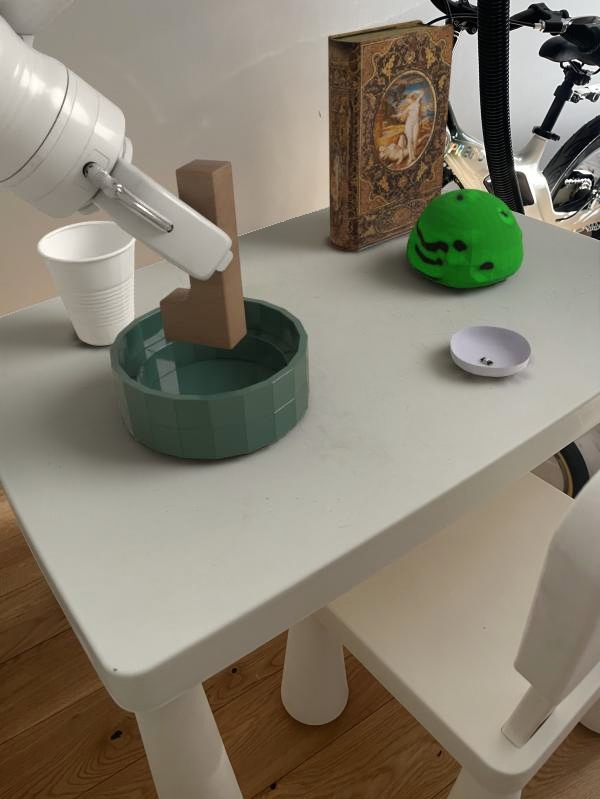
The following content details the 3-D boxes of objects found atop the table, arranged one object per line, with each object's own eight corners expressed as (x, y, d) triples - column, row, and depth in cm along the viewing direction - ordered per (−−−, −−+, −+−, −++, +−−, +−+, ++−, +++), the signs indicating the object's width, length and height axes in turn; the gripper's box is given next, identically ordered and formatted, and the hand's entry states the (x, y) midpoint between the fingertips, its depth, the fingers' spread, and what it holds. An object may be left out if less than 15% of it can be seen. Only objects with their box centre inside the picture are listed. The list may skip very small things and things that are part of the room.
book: (350, 254, 95) (352, 43, 81) (323, 241, 99) (320, 37, 84) (438, 221, 103) (455, 23, 88) (411, 210, 107) (422, 18, 92)
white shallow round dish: (489, 394, 70) (492, 378, 68) (431, 358, 75) (432, 342, 74) (546, 366, 73) (549, 349, 72) (486, 333, 78) (488, 317, 77)
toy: (386, 262, 93) (390, 185, 87) (468, 238, 98) (476, 164, 92) (455, 306, 83) (464, 222, 78) (542, 277, 89) (556, 196, 83)
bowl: (97, 391, 72) (82, 329, 68) (252, 338, 79) (247, 279, 75) (170, 493, 60) (157, 426, 56) (345, 419, 67) (345, 355, 63)
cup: (109, 302, 87) (90, 213, 80) (170, 325, 82) (156, 232, 75) (41, 339, 80) (15, 246, 74) (103, 367, 75) (81, 269, 69)
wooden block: (247, 333, 65) (232, 160, 57) (231, 350, 62) (212, 171, 54) (182, 324, 67) (158, 156, 59) (164, 340, 64) (136, 166, 56)
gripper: (149, 148, 42) (298, 262, 52) (46, 79, 56) (178, 179, 66) (89, 240, 43) (247, 335, 53) (1, 149, 57) (139, 237, 67)
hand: (208, 247), depth 59 cm, fingers closed on wooden block, 4 cm apart
